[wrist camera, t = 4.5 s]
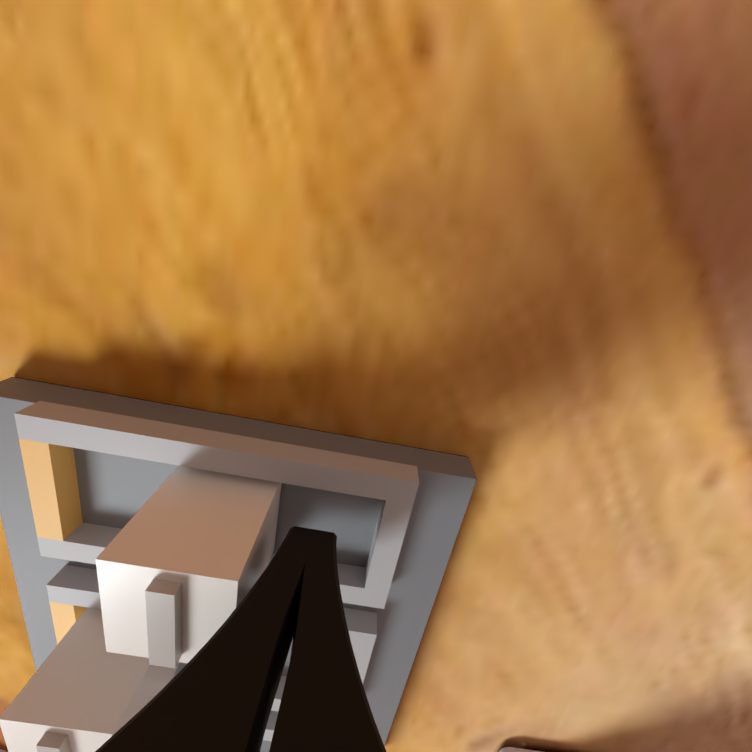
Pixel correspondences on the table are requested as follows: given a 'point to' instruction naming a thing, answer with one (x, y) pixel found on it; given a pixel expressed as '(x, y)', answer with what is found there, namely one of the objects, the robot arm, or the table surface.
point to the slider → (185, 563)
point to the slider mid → (80, 693)
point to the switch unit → (237, 457)
